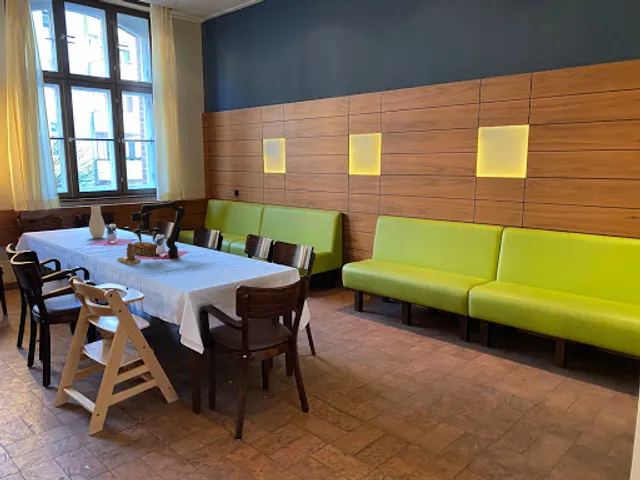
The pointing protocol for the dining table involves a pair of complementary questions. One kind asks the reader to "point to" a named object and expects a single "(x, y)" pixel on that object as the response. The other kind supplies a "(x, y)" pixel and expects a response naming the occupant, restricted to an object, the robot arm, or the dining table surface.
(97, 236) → the vase
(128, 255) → the pepper mill
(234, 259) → the dining table surface
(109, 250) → the dining table surface
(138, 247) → the bread
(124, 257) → the caddy
